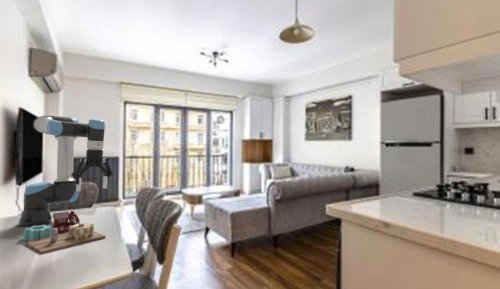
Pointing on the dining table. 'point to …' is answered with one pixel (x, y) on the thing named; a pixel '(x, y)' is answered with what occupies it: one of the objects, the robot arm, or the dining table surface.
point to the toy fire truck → (64, 220)
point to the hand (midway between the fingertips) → (92, 189)
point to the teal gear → (37, 232)
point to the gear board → (66, 238)
